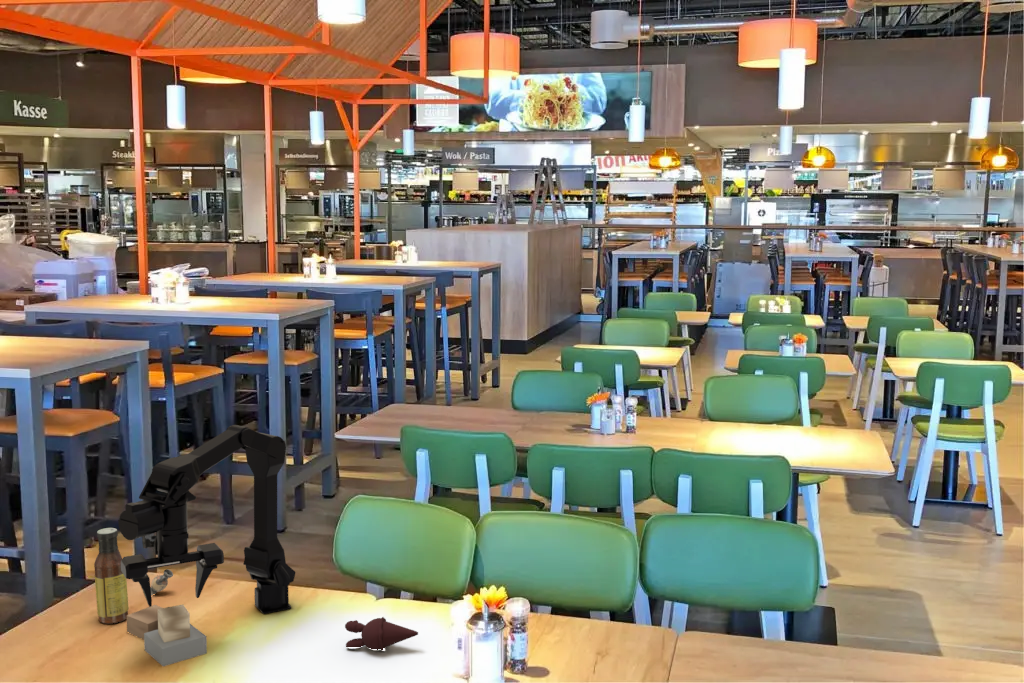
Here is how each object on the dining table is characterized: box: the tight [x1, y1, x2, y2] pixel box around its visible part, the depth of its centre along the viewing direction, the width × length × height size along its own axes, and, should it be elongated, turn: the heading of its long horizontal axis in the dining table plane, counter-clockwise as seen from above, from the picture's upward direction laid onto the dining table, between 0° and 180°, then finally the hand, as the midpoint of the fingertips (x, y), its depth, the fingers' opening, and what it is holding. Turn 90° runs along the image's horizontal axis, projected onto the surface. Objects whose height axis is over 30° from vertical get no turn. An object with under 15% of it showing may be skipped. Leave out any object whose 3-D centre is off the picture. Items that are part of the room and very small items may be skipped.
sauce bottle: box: [93, 527, 129, 625], centre depth 214 cm, size 7×6×20 cm
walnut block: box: [126, 604, 163, 640], centre depth 210 cm, size 7×7×4 cm
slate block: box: [143, 623, 208, 667], centre depth 201 cm, size 9×9×4 cm
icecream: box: [344, 616, 419, 650], centre depth 204 cm, size 7×7×15 cm
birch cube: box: [158, 604, 191, 643], centre depth 200 cm, size 5×5×5 cm
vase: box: [150, 568, 174, 595], centre depth 229 cm, size 5×5×6 cm
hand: (173, 601), depth 199 cm, fingers open, 9 cm apart
